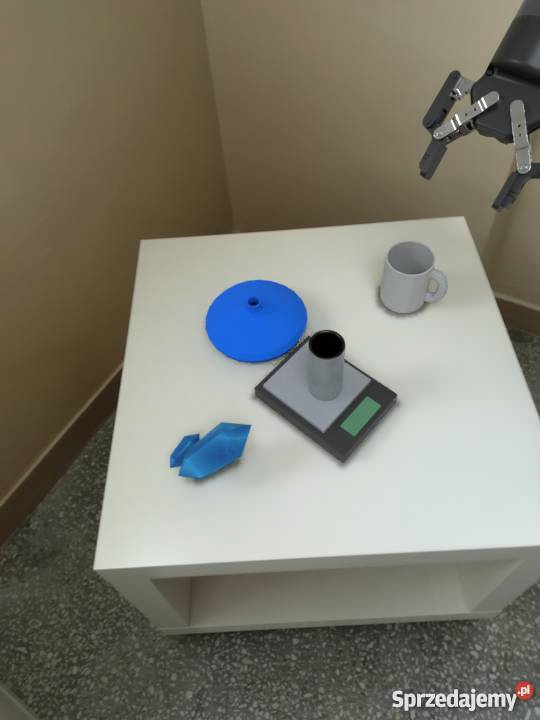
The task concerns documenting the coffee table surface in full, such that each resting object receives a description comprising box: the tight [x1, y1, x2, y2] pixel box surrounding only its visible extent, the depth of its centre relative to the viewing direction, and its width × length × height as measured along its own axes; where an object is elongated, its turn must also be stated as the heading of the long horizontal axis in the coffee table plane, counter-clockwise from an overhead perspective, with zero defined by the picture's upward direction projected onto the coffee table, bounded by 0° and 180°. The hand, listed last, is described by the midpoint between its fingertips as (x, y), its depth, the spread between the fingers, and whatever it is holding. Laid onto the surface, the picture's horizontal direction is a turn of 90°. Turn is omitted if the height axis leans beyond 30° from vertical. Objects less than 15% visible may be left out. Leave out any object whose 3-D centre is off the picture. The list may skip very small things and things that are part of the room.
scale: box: [254, 335, 398, 464], centre depth 75 cm, size 16×12×3 cm
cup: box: [379, 240, 449, 314], centre depth 81 cm, size 7×10×9 cm
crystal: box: [169, 421, 252, 480], centre depth 69 cm, size 7×9×12 cm
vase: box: [205, 279, 308, 364], centre depth 81 cm, size 16×16×7 cm
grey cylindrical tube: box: [308, 329, 346, 401], centre depth 69 cm, size 4×4×10 cm
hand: (459, 193), depth 56 cm, fingers open, 8 cm apart
